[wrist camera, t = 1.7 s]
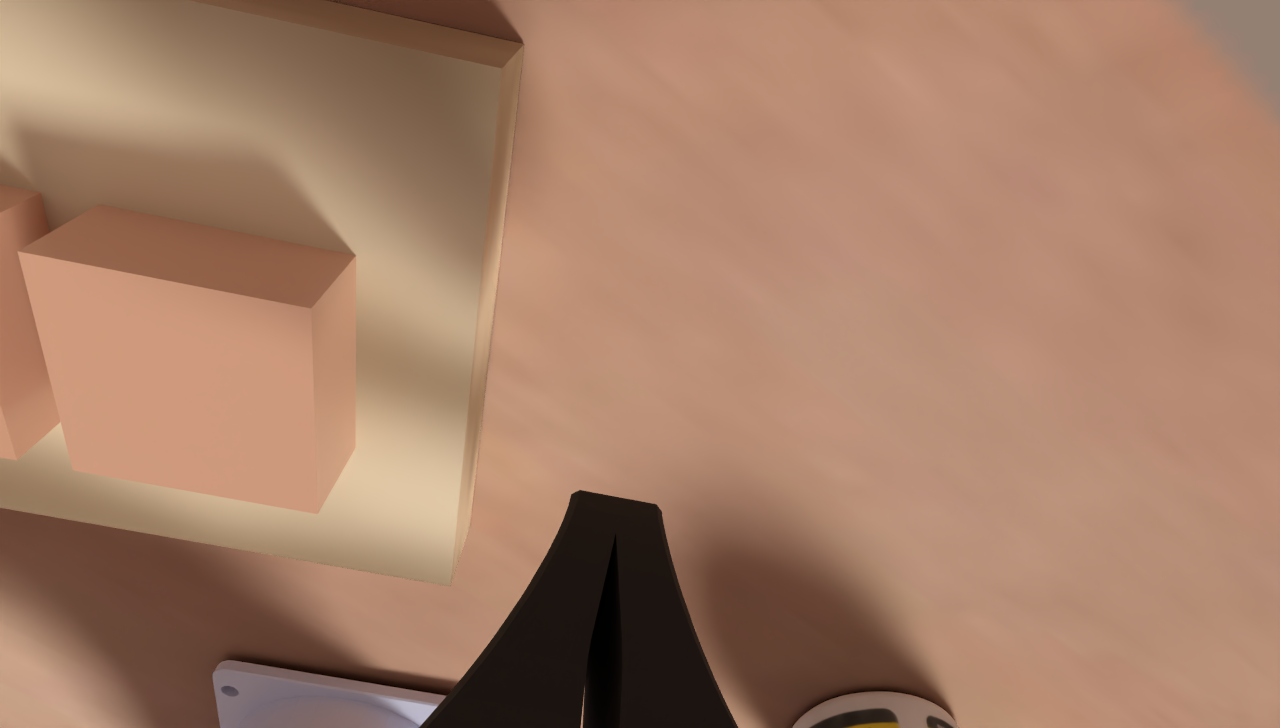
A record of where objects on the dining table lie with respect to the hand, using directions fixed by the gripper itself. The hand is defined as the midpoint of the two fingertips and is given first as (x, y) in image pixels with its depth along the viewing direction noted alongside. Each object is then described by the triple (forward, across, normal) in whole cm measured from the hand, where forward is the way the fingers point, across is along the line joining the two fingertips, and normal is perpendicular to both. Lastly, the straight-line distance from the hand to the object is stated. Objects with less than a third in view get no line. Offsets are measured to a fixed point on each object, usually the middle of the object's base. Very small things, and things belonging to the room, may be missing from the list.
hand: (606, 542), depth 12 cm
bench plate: (+6, +10, 0) cm, 11 cm away
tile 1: (+4, +8, 0) cm, 8 cm away
